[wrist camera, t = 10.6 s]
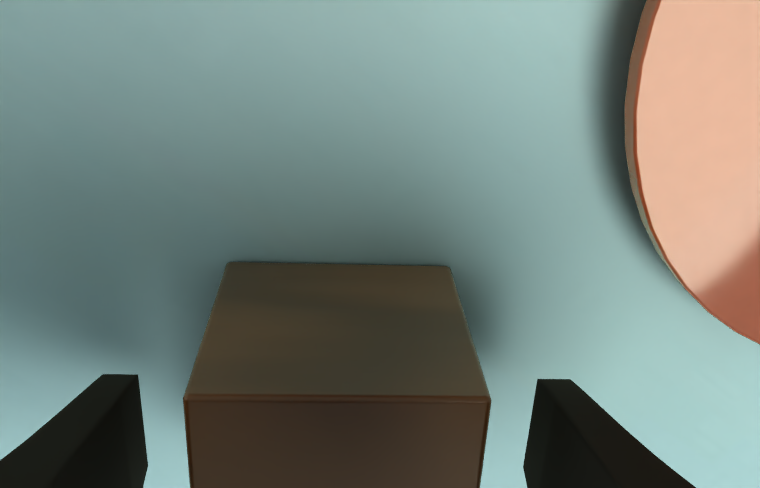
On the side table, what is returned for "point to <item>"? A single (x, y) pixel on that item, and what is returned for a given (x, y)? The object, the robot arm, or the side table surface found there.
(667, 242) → the lid
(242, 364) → the block
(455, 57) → the side table surface
